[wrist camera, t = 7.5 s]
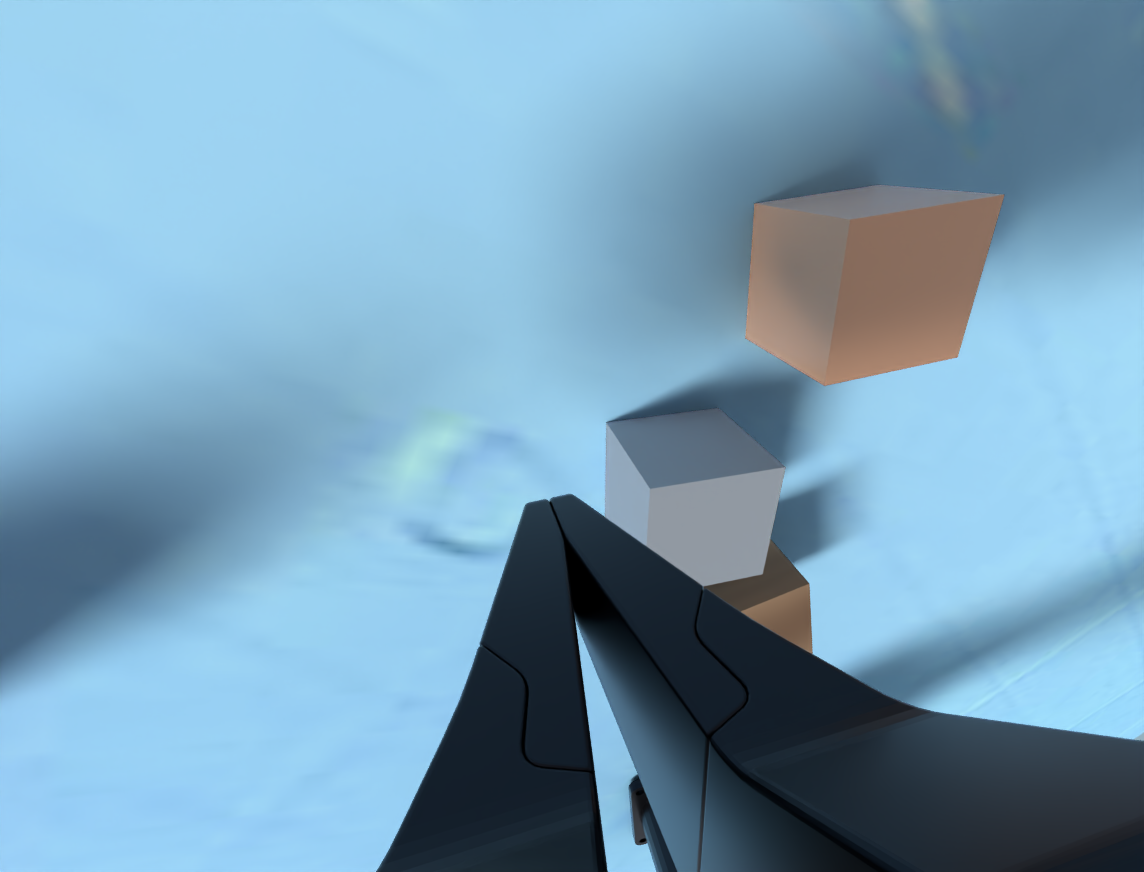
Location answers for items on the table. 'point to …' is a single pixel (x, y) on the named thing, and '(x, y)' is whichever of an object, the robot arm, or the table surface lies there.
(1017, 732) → the robot arm
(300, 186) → the table surface
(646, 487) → the slate block
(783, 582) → the walnut cube
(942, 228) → the terracotta block
